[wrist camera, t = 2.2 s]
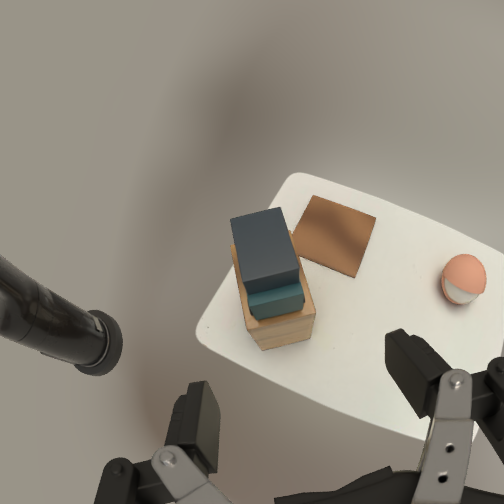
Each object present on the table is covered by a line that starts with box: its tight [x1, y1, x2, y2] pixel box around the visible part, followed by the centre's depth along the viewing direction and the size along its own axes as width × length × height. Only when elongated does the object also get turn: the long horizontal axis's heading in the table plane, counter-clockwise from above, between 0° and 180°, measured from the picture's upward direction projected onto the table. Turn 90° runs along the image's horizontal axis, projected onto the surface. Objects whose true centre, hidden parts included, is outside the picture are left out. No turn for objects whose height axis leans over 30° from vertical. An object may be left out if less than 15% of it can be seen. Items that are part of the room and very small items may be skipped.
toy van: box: [230, 207, 305, 320], centre depth 26 cm, size 9×5×8 cm, turn 11°
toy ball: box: [442, 254, 486, 304], centre depth 34 cm, size 8×8×8 cm
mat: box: [292, 195, 376, 278], centre depth 46 cm, size 12×12×1 cm
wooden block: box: [230, 230, 316, 351], centre depth 35 cm, size 10×7×13 cm
